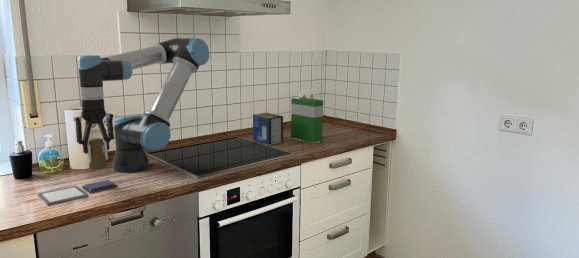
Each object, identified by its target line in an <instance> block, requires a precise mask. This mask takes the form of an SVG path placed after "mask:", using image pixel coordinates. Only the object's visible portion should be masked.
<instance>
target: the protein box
mask: <svg viewBox="0 0 579 258" xmlns="http://www.w3.org/2000/svg"><path fill="white" fill-rule="evenodd" d="M253 140H255V141H254V142H256V141H258V142H257V143H259V142H261V143H260V144H262V143H265V144H268V145H269V144H274V143H279V142H283V143H284V115H279V114H274V113H270V112H262V113H253V114H252V141H253ZM265 144H264V145H265ZM268 145H267V146H268ZM269 146H270V145H269Z"/></svg>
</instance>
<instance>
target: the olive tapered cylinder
mask: <svg viewBox="0 0 579 258" xmlns="http://www.w3.org/2000/svg"><path fill="white" fill-rule="evenodd" d="M103 141H104V139H103V138H100V137H99V138H98V137H97V138H96V137H95V138H91V139H90V138H89V140H88V144H89V145H90V149H91V162H88V163H89V166H88V168H89V169H90V170H103V169H105V168H107V160H105V157H104V152H103V148H102V147H103V145H104V142H103Z"/></svg>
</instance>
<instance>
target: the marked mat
mask: <svg viewBox="0 0 579 258" xmlns="http://www.w3.org/2000/svg"><path fill="white" fill-rule="evenodd" d="M37 196H38V198H40V199H41V201H42V202H44V203H45V204H46V205H47V206H52V205H58V204H60V203H65V202H69V201H73V200H78V199H84V198H87V197H89V193H88V192H87V191H85V190H84V189H83V188H82V189H81V188H80V187H79V186H78V185H73V186H68V187H63V188H59V189H53V190H49V191H43V192H38V193H37Z"/></svg>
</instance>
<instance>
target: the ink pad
mask: <svg viewBox="0 0 579 258" xmlns="http://www.w3.org/2000/svg"><path fill="white" fill-rule="evenodd" d="M81 187H82V190H84V191H85V192H87V193H88V194H93V193H97V192H102V191H105V190H111V189H115V188H118V184H116V183H114V182H113V181H111V180H110V179H106V180H101V181H96V182H90V183H86V184H84V185H82V186H81Z"/></svg>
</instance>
